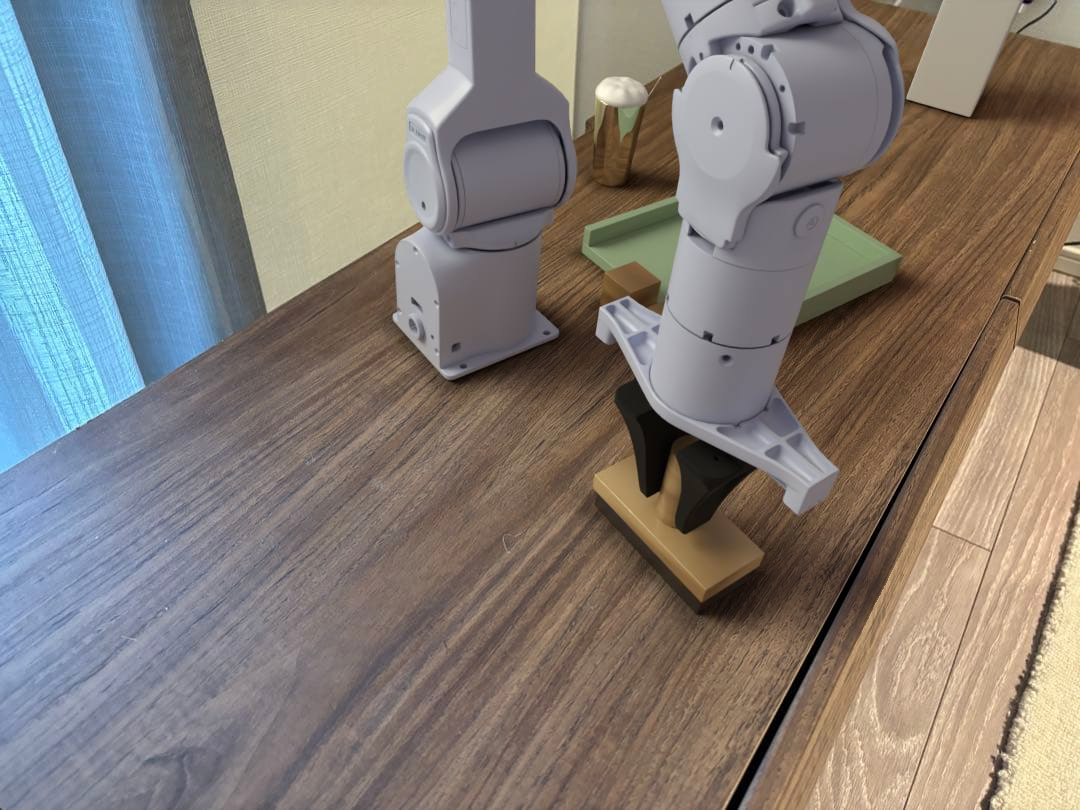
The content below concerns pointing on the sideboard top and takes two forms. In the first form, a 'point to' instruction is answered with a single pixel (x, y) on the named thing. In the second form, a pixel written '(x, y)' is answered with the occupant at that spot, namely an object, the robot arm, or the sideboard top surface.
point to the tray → (654, 233)
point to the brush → (676, 533)
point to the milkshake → (617, 128)
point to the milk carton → (962, 53)
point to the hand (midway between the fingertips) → (674, 505)
